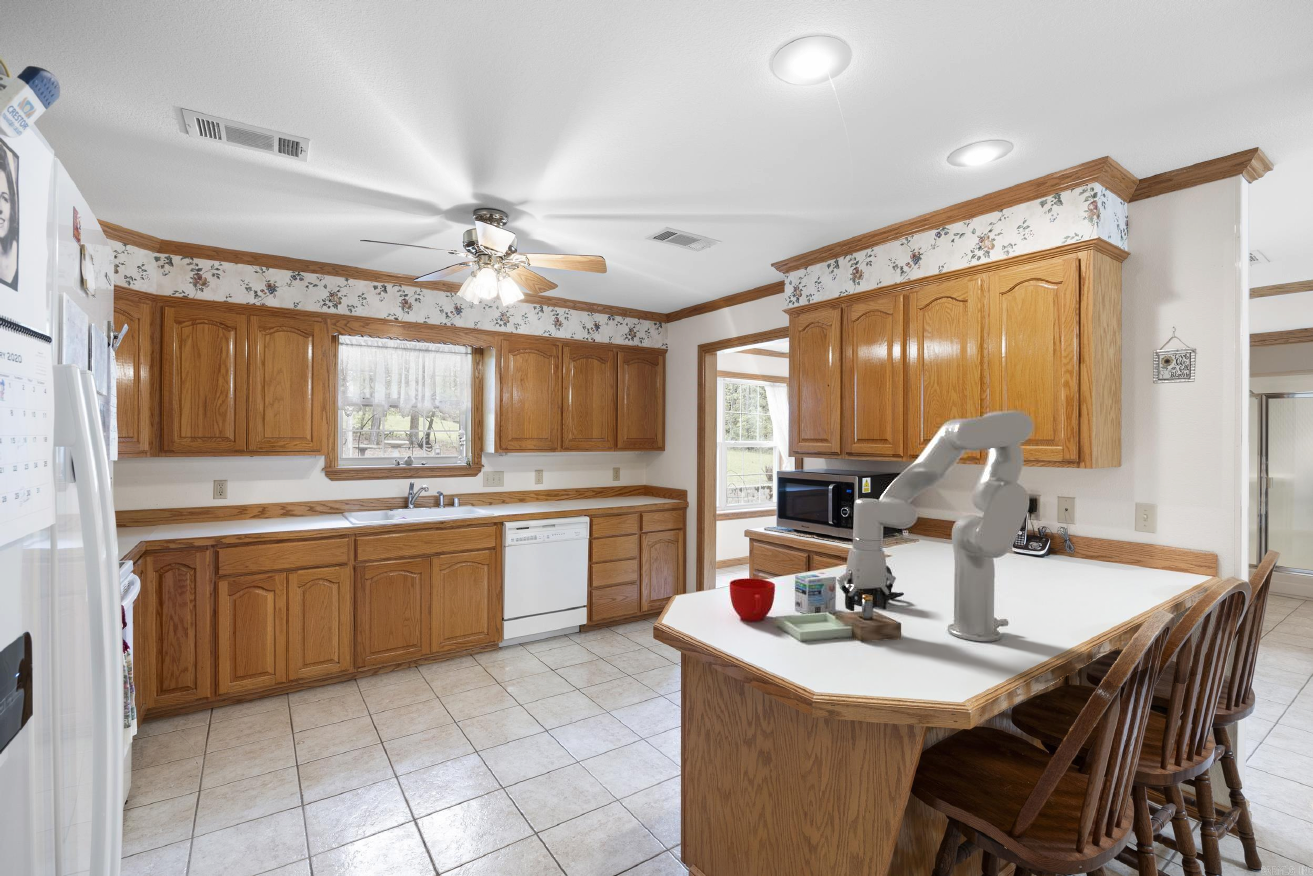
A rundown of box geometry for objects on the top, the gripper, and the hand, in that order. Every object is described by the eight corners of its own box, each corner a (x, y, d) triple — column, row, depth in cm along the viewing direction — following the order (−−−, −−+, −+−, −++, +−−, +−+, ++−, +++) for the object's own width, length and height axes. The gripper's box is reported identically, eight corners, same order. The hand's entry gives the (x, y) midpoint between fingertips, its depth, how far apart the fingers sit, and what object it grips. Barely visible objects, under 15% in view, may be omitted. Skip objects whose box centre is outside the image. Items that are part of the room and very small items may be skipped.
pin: (868, 631, 167) (869, 594, 167) (875, 634, 164) (875, 596, 164) (859, 631, 166) (859, 594, 166) (865, 635, 164) (866, 597, 164)
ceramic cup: (735, 629, 168) (735, 592, 167) (726, 611, 184) (726, 578, 184) (782, 629, 168) (782, 592, 168) (769, 611, 185) (769, 578, 185)
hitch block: (873, 624, 173) (873, 610, 173) (901, 638, 161) (901, 623, 161) (835, 627, 170) (835, 613, 170) (860, 642, 158) (860, 626, 158)
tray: (826, 621, 176) (826, 612, 176) (855, 636, 162) (855, 627, 162) (775, 625, 171) (775, 616, 171) (800, 642, 158) (800, 632, 158)
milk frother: (844, 603, 195) (845, 556, 195) (864, 593, 207) (865, 549, 207) (890, 612, 186) (890, 562, 185) (908, 601, 197) (908, 555, 197)
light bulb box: (807, 616, 181) (808, 579, 181) (793, 610, 187) (794, 574, 187) (836, 612, 185) (837, 576, 185) (822, 606, 191) (822, 571, 191)
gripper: (886, 542, 171) (885, 603, 171) (831, 543, 167) (829, 606, 167) (904, 547, 164) (902, 611, 164) (846, 548, 159) (844, 614, 159)
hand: (865, 608), depth 165 cm, fingers open, 9 cm apart
